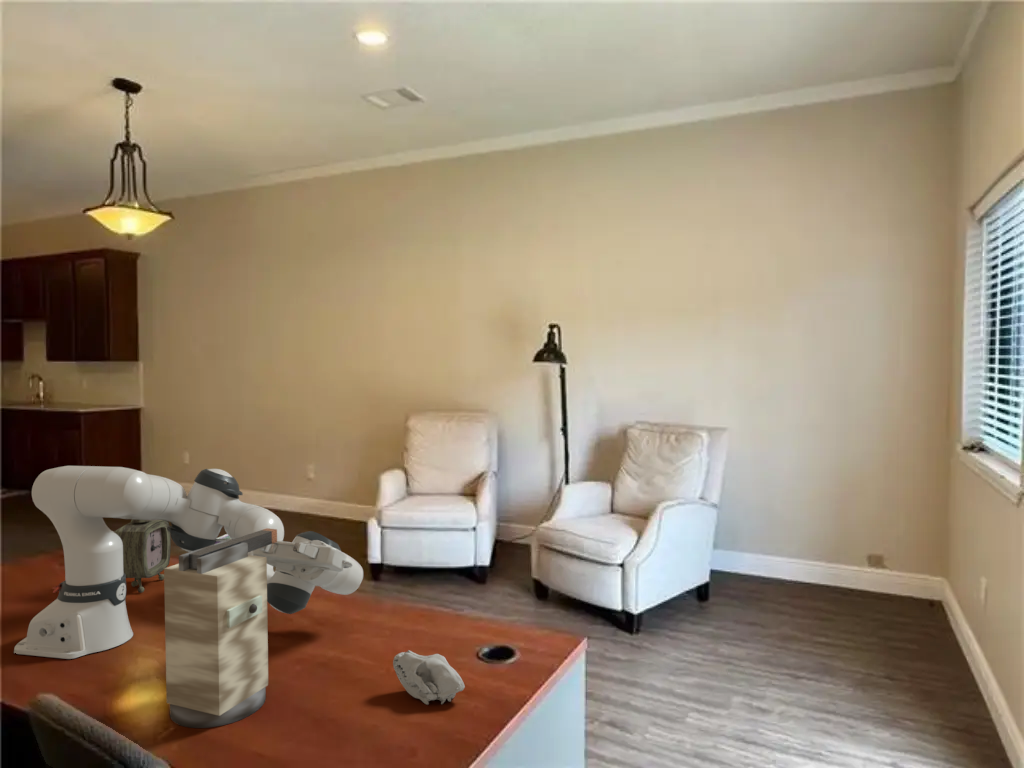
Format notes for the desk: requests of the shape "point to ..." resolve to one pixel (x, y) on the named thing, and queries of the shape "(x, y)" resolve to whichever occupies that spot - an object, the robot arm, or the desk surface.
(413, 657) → the skull
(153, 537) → the tabletop clock
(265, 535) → the bar
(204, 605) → the level stand
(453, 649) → the desk surface
